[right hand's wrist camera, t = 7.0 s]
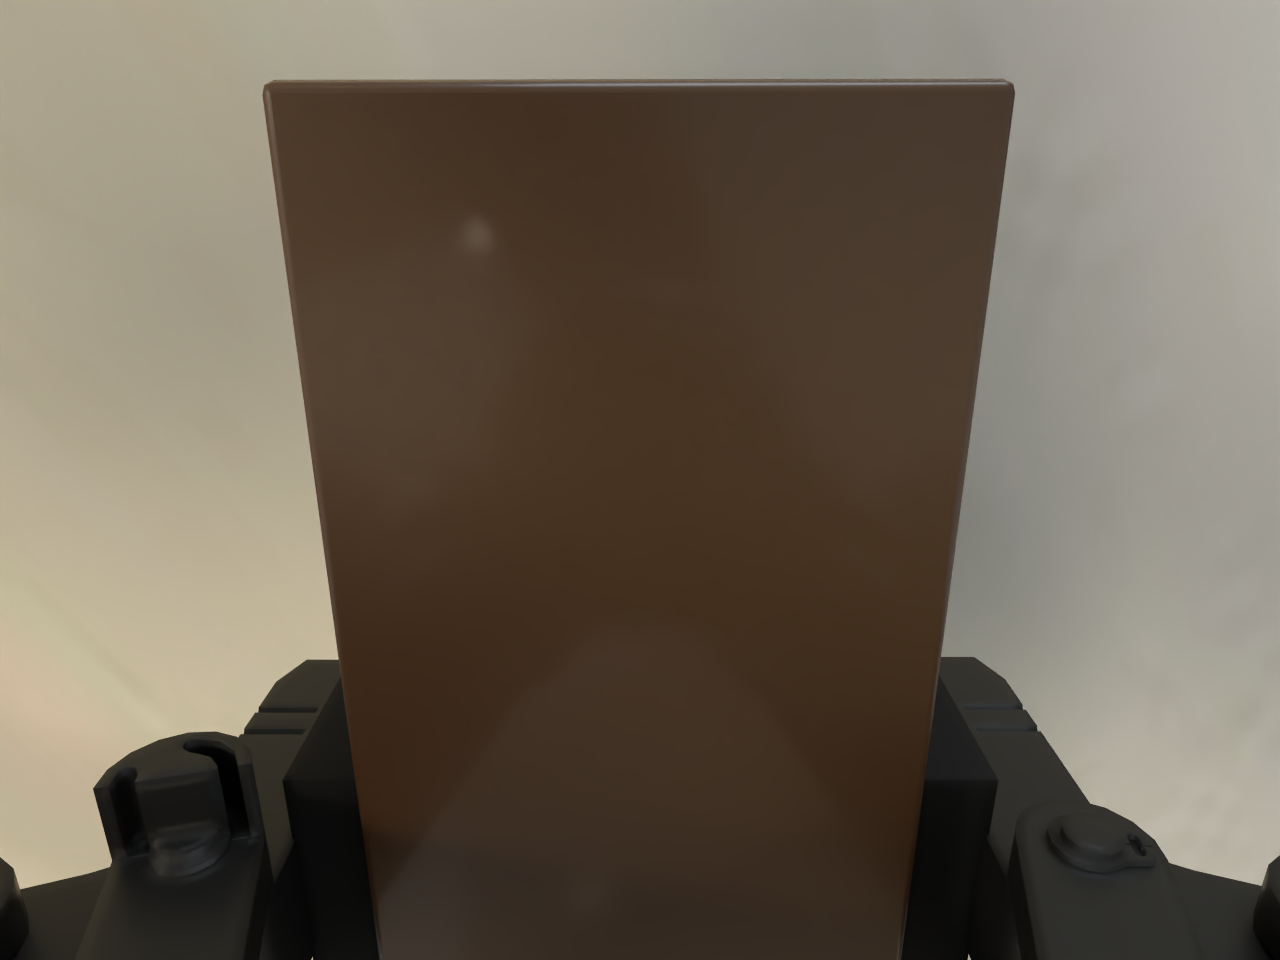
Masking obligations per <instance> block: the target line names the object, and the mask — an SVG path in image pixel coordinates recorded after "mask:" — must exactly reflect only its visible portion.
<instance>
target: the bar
mask: <svg viewBox="0 0 1280 960" xmlns="http://www.w3.org/2000/svg"><path fill="white" fill-rule="evenodd" d="M1014 98H1015V91H1014V85H1013V83H1011V82H1009V81H1007V80H1004V79H594V80H273V81H271V82H269V83H267V84H265V85H264V89H263V102H264V110H265V117H266V124H267V132H268V139H269V147H270V154H271V161H272V169H273V176H274V184H275V191H276V198H277V206H278V213H279V221H280V228H281V235H282V243H283V250H284V258H285V265H286V272H287V280H288V287H289V295H290V302H291V309H292V317H293V324H294V332H295V339H296V346H297V354H298V361H299V369H300V376H301V383H302V391H303V398H304V406H305V413H306V420H307V428H308V435H309V443H310V450H311V457H312V465H313V472H314V479H315V487H316V494H317V502H318V509H319V516H320V524H321V531H322V539H323V546H324V553H325V561H326V568H327V576H328V583H329V590H330V598H331V605H332V613H333V620H334V627H335V635H336V642H337V650H338V657H339V664H340V672H341V679H342V687H343V694H344V701H345V709H346V716H347V724H348V731H349V738H350V746H351V753H352V761H353V768H354V775H355V783H356V790H357V797H358V805H359V812H360V820H361V827H362V834H363V842H364V849H365V857H366V864H367V871H368V879H369V886H370V894H371V901H372V908H373V916H374V923H375V931H376V938H377V945H378V953H379V960H901V956H902V949H903V941H904V934H905V926H906V918H907V911H908V903H909V896H910V888H911V880H912V873H913V865H914V858H915V850H916V842H917V835H918V827H919V820H920V812H921V804H922V797H923V789H924V782H925V774H926V766H927V759H928V751H929V744H930V736H931V728H932V721H933V713H934V706H935V698H936V690H937V683H938V675H939V668H940V660H941V652H942V645H943V637H944V630H945V622H946V614H947V607H948V599H949V592H950V584H951V576H952V569H953V561H954V554H955V546H956V538H957V531H958V523H959V516H960V508H961V501H962V493H963V485H964V478H965V470H966V463H967V455H968V447H969V440H970V432H971V425H972V417H973V409H974V402H975V394H976V387H977V379H978V371H979V364H980V356H981V349H982V341H983V333H984V326H985V318H986V311H987V303H988V295H989V288H990V280H991V273H992V265H993V257H994V250H995V242H996V235H997V227H998V219H999V212H1000V204H1001V197H1002V189H1003V181H1004V174H1005V166H1006V159H1007V151H1008V143H1009V136H1010V128H1011V121H1012V113H1013V105H1014Z"/></svg>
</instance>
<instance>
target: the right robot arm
mask: <svg viewBox="0 0 1280 960" xmlns="http://www.w3.org/2000/svg"><path fill="white" fill-rule="evenodd" d="M93 790H94V794H95V798H96V801H97V805H98V809H99V813H100V816H101V820H102V824H103V828H104V831H105V835H106V839H107V843H108V847H109V850H110V854H111V858H112V864H111V866H110V867H109V868H106V869H102V870H99V871H96V872H92V873H89V874H85V875H81V876H77V877H72V878H68V879H64V880H59V881H55V882H51V883H46V884H42V885H38V886H33V887H29V888H25V889H20V888H19V885H18V882H17V878H16V875H15V872H14V869H13V868H12V867H11V866H10V865H9V864H8V863H6V862H5V861H4V860H3V859H2V858H0V960H311V959H312V956H313V960H379V953H378V945H377V938H376V931H375V923H374V916H373V908H372V901H371V894H370V886H369V879H368V871H367V864H366V857H365V849H364V842H363V834H362V827H361V820H360V812H359V805H358V797H357V790H356V783H355V775H354V768H353V761H352V753H351V746H350V738H349V731H348V724H347V716H346V709H345V701H344V694H343V687H342V679H341V672H340V664H339V660H306V661H305V662H303V663H302V664H300V665H299V666H298V667H296V668H295V669H293V670H292V671H291V672H289V673H288V674H287V675H285V676H284V677H282V678H281V679H280V680H278V681H277V682H276V683H275V684H274V686H273V687H272V689H271V690H270V692H269V693H268V695H267V696H266V698H265V699H264V701H263V702H262V704H261V705H260V707H259V712H258V713H255V714H254V715H253V717H252V718H251V720H250V721H249V723H248V724H247V726H246V727H245V729H244V734H241V735H240V736H239V737H235V736H231V735H227V734H223V733H219V732H193V733H185V734H181V735H177V736H173V737H169V738H165V739H161V740H158V741H156V742H153V743H151V744H149V745H147V746H145V747H142V748H140V749H138V750H136V751H133V752H131V753H130V754H128V755H127V756H126V757H124V758H123V759H121V760H120V761H119V762H117V763H116V764H115V765H113V766H112V767H110V768H109V769H108V770H107V771H106V772H105V774H104V775H103V776H102V778H101V779H100V780H99V782H98V783H97V784H96V785H95V787H94V788H93ZM968 954H969V955H970V958H971V960H1280V856H1279V857H1277V858H1276V859H1275V860H1274V861H1273V862H1271V863H1270V864H1269V865H1268V868H1267V872H1266V875H1265V878H1264V881H1263V884H1262V886H1259V885H1255V884H1250V883H1246V882H1242V881H1237V880H1233V879H1229V878H1224V877H1220V876H1215V875H1211V874H1207V873H1202V872H1198V871H1194V870H1191V869H1187V868H1184V867H1181V866H1177V865H1174V864H1171V863H1169V862H1168V860H1167V858H1166V857H1165V855H1164V854H1163V852H1162V851H1161V849H1160V848H1159V846H1158V844H1157V843H1156V841H1155V840H1154V839H1153V838H1152V837H1150V836H1149V835H1148V834H1147V833H1146V832H1144V831H1143V830H1142V829H1141V828H1139V827H1138V826H1137V825H1136V824H1135V823H1133V822H1132V821H1130V820H1128V819H1126V818H1124V817H1122V816H1120V815H1118V814H1116V813H1114V812H1112V811H1110V810H1109V809H1107V808H1104V807H1100V806H1097V805H1093V804H1090V803H1089V801H1088V800H1087V798H1086V797H1085V796H1084V794H1083V793H1082V791H1081V790H1080V788H1079V787H1078V785H1077V784H1076V782H1075V781H1074V779H1073V778H1072V777H1071V775H1070V774H1069V772H1068V771H1067V769H1066V768H1065V766H1064V765H1063V763H1062V762H1061V760H1060V759H1059V757H1058V756H1057V755H1056V753H1055V752H1054V750H1053V749H1052V747H1051V746H1050V744H1049V743H1048V741H1047V740H1046V738H1045V737H1044V736H1043V734H1042V733H1041V731H1037V725H1036V724H1035V722H1034V721H1033V719H1032V718H1031V717H1030V715H1029V714H1028V712H1027V711H1026V710H1023V708H1022V703H1021V702H1020V700H1019V699H1018V698H1017V696H1016V695H1015V693H1014V692H1013V690H1012V689H1011V687H1010V686H1009V684H1008V683H1007V681H1006V680H1005V679H1004V678H1003V677H1001V676H1000V675H998V674H997V673H996V672H994V671H993V670H991V669H990V668H989V667H987V666H986V665H984V664H983V663H982V662H980V661H979V660H977V659H976V658H975V657H941V660H940V668H939V675H938V683H937V690H936V698H935V706H934V713H933V721H932V728H931V736H930V744H929V751H928V759H927V766H926V774H925V782H924V789H923V797H922V804H921V812H920V820H919V827H918V835H917V842H916V850H915V858H914V865H913V873H912V880H911V888H910V896H909V903H908V911H907V918H906V926H905V934H904V941H903V949H902V956H901V960H967V959H968Z"/></svg>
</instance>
